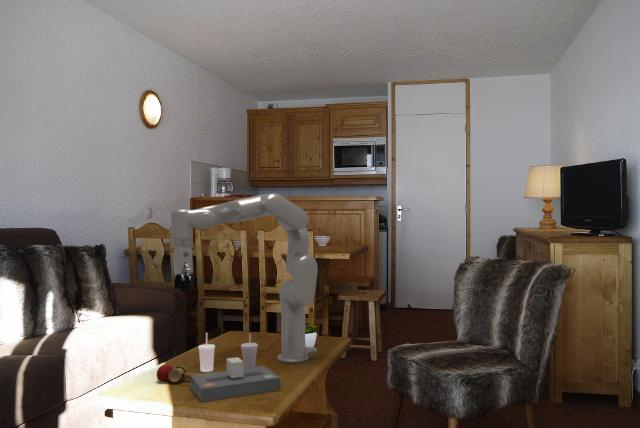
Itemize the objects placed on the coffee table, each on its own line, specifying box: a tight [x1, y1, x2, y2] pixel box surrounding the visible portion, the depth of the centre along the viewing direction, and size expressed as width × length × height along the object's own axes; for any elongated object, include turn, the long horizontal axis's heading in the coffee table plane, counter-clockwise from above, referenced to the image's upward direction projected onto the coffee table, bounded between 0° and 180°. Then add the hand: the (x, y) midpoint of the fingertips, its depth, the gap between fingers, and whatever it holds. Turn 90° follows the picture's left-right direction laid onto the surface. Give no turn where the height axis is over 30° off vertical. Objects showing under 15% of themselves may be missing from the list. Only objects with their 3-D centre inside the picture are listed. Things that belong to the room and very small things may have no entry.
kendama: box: [156, 364, 202, 383], centre depth 189 cm, size 8×6×18 cm
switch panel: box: [189, 365, 281, 403], centre depth 182 cm, size 26×19×4 cm
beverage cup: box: [198, 332, 216, 373], centre depth 203 cm, size 6×6×14 cm
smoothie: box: [240, 332, 259, 369], centre depth 202 cm, size 6×6×14 cm
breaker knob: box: [225, 356, 244, 378], centre depth 181 cm, size 4×6×5 cm, turn 26°
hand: (182, 290), depth 198 cm, fingers open, 9 cm apart
